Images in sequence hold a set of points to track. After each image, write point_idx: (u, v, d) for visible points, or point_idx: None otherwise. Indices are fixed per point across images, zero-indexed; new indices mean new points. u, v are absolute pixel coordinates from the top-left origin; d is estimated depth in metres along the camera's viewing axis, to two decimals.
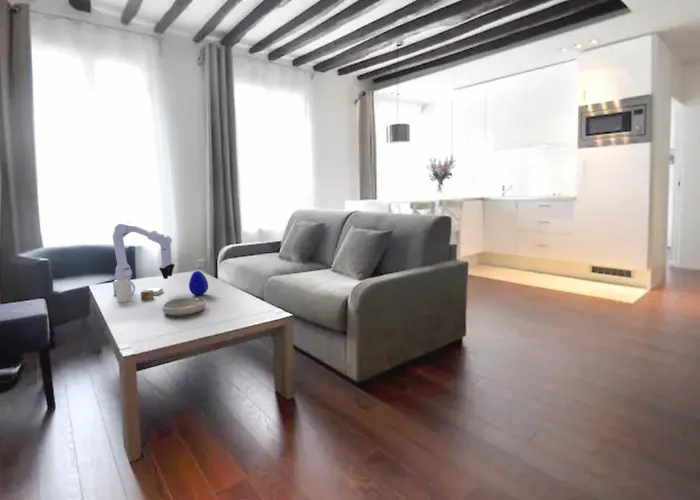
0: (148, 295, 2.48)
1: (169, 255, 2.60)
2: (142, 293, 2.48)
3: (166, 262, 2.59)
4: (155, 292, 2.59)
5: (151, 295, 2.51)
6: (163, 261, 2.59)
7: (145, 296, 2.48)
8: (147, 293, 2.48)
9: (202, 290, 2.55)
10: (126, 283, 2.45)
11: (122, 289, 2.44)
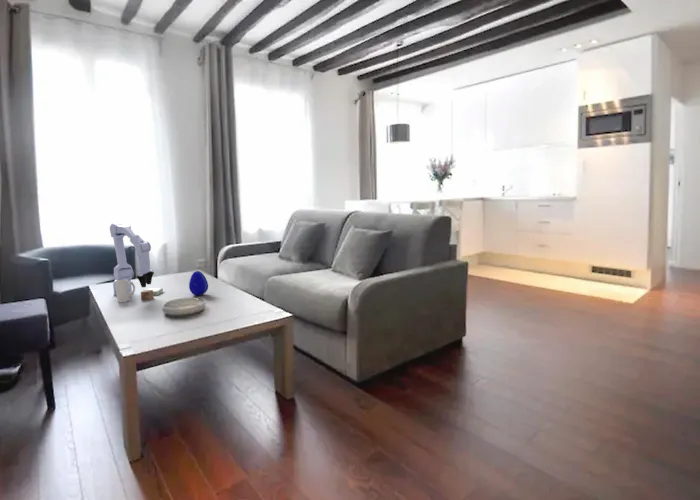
0: (148, 295, 2.48)
1: (144, 263, 2.46)
2: (142, 293, 2.48)
3: (144, 270, 2.46)
4: (155, 292, 2.59)
5: (151, 295, 2.51)
6: (141, 269, 2.46)
7: (145, 296, 2.48)
8: (147, 293, 2.48)
9: (202, 290, 2.55)
10: (126, 283, 2.45)
11: (122, 289, 2.44)
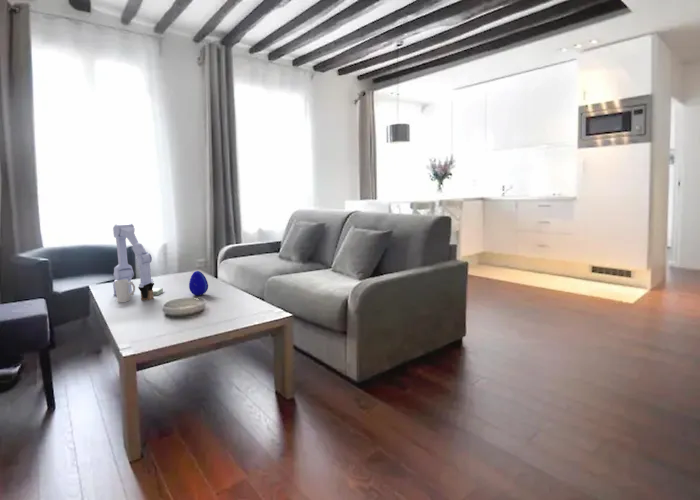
0: (148, 295, 2.48)
1: (145, 274, 2.47)
2: None
3: (145, 281, 2.47)
4: (155, 292, 2.59)
5: (151, 295, 2.51)
6: (142, 280, 2.47)
7: None
8: None
9: (202, 290, 2.55)
10: (126, 283, 2.45)
11: (122, 289, 2.44)
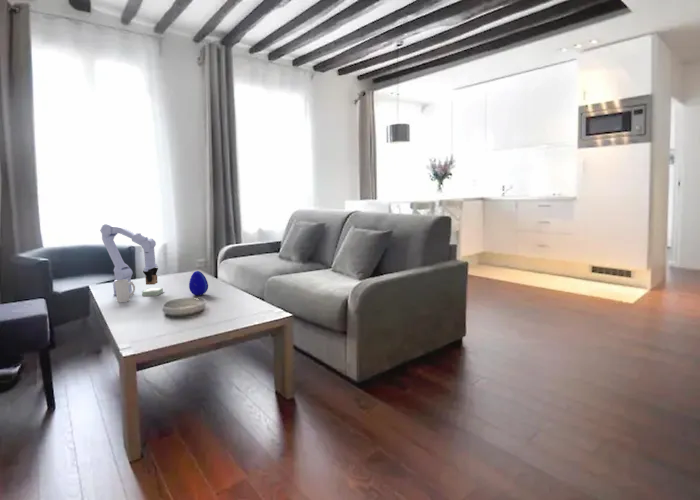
0: (152, 279, 2.59)
1: (152, 258, 2.58)
2: None
3: (149, 265, 2.58)
4: (155, 292, 2.59)
5: (155, 280, 2.62)
6: (146, 264, 2.58)
7: None
8: None
9: (202, 290, 2.55)
10: (126, 283, 2.45)
11: (122, 289, 2.44)
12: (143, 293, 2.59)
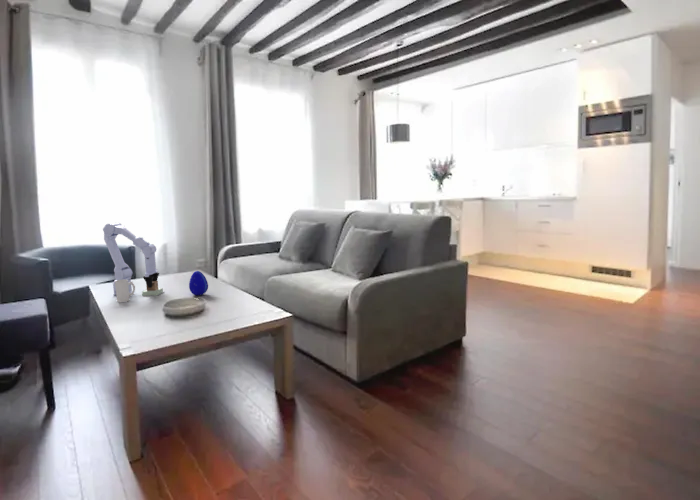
0: (153, 286, 2.60)
1: (153, 264, 2.59)
2: None
3: (150, 271, 2.59)
4: (155, 292, 2.59)
5: (156, 286, 2.63)
6: (147, 270, 2.59)
7: None
8: (152, 284, 2.60)
9: (202, 290, 2.55)
10: (126, 283, 2.45)
11: (122, 289, 2.44)
12: (143, 293, 2.59)
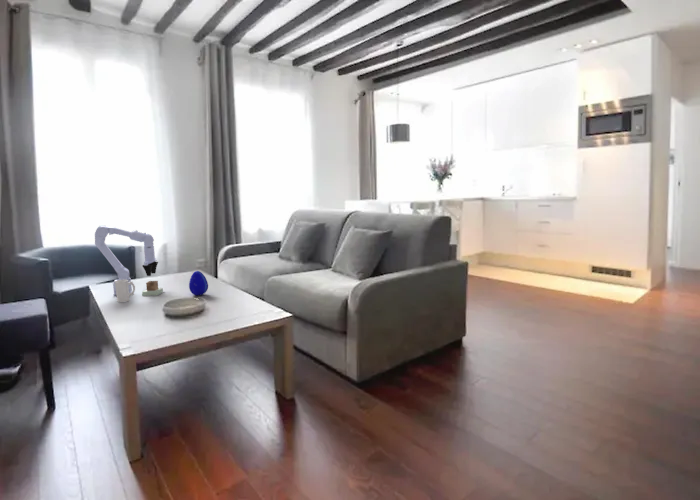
0: (153, 286, 2.60)
1: (153, 252, 2.68)
2: (147, 284, 2.60)
3: (149, 260, 2.66)
4: (155, 292, 2.59)
5: (156, 286, 2.63)
6: (146, 259, 2.66)
7: (150, 286, 2.60)
8: (152, 284, 2.60)
9: (202, 290, 2.55)
10: (126, 283, 2.45)
11: (122, 289, 2.44)
12: (143, 293, 2.59)
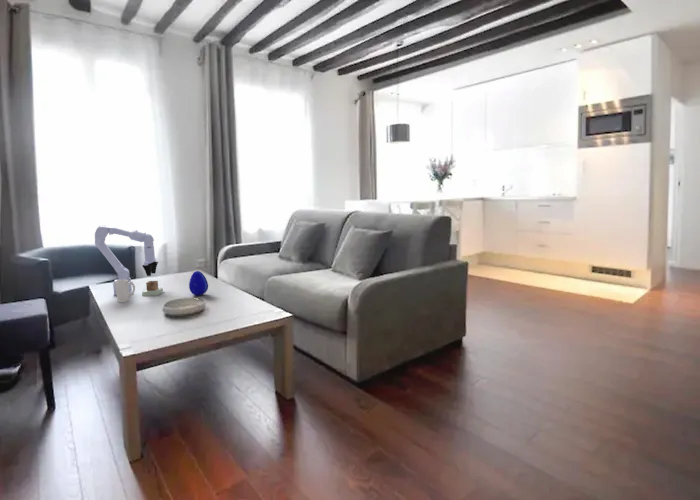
0: (153, 286, 2.60)
1: (153, 252, 2.68)
2: (147, 284, 2.60)
3: (149, 260, 2.66)
4: (155, 292, 2.59)
5: (156, 286, 2.63)
6: (146, 259, 2.66)
7: (150, 286, 2.60)
8: (152, 284, 2.60)
9: (202, 290, 2.55)
10: (126, 283, 2.45)
11: (122, 289, 2.44)
12: (143, 293, 2.59)
